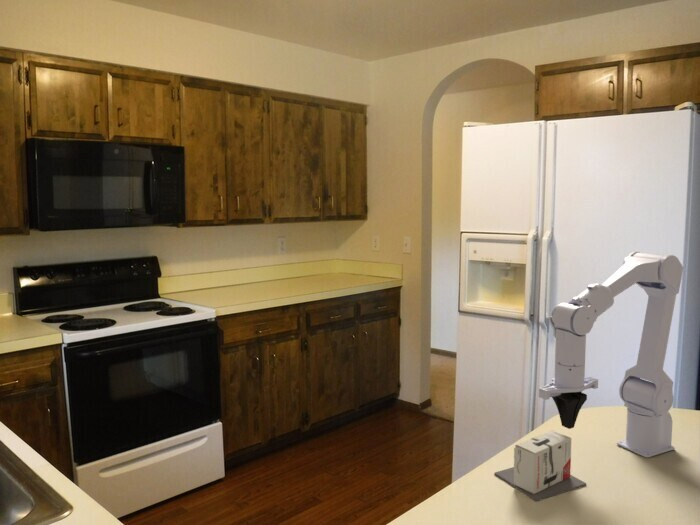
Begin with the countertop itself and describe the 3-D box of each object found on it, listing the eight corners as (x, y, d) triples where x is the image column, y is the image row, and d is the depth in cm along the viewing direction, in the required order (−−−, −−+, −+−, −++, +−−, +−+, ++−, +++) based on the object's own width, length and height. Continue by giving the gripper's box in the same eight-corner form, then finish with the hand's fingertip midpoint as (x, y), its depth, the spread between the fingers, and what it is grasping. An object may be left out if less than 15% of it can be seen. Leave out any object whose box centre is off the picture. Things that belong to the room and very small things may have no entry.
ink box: (571, 477, 119) (533, 495, 112) (550, 468, 123) (512, 485, 116) (572, 437, 118) (534, 453, 111) (551, 429, 122) (513, 444, 115)
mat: (541, 460, 127) (541, 459, 127) (586, 485, 117) (586, 483, 117) (494, 474, 122) (494, 472, 122) (536, 501, 111) (536, 499, 111)
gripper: (580, 352, 126) (578, 413, 128) (528, 362, 120) (527, 426, 122) (607, 361, 120) (604, 425, 122) (554, 371, 114) (552, 439, 115)
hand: (567, 426), depth 121 cm, fingers closed
